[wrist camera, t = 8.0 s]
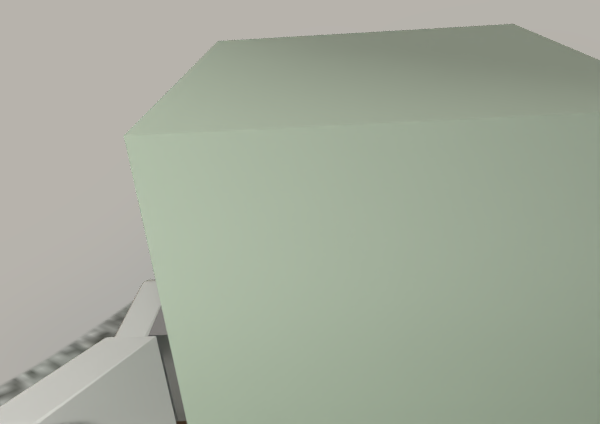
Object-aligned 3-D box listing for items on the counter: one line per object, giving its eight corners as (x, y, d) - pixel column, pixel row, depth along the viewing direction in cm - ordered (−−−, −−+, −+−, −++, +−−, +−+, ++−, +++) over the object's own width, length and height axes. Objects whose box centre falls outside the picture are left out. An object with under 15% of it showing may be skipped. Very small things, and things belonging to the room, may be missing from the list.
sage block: (464, 438, 13) (513, 23, 9) (538, 686, 9) (711, 107, 4) (268, 442, 14) (218, 41, 9) (244, 684, 9) (123, 136, 5)
